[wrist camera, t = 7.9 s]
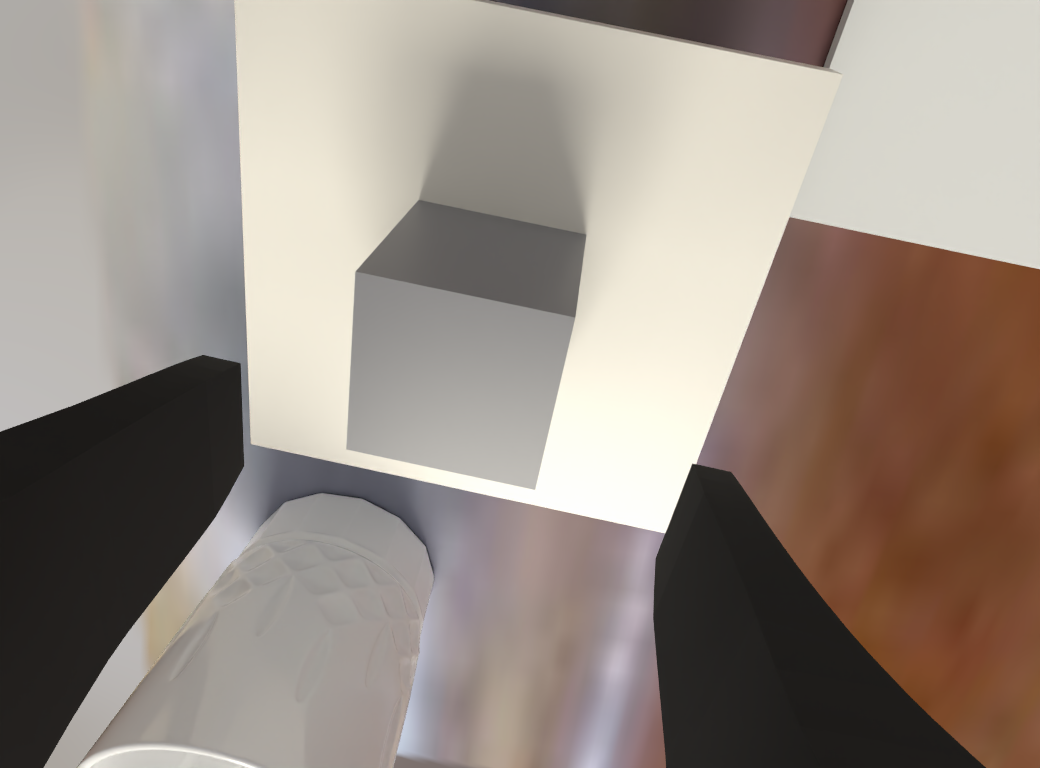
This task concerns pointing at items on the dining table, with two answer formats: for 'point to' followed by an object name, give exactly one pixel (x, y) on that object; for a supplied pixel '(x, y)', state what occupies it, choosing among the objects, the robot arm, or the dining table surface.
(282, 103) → the lid
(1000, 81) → the cream square tray
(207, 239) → the dining table surface
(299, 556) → the white cup
